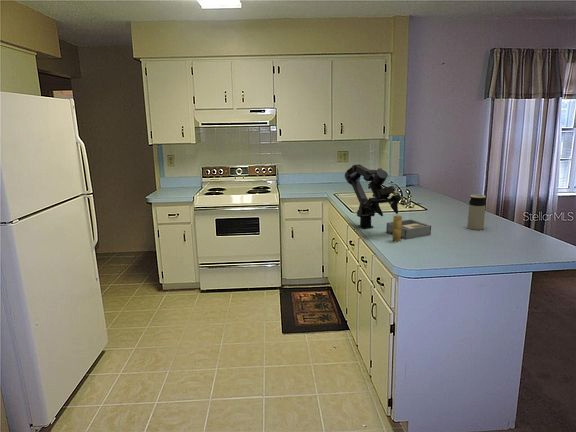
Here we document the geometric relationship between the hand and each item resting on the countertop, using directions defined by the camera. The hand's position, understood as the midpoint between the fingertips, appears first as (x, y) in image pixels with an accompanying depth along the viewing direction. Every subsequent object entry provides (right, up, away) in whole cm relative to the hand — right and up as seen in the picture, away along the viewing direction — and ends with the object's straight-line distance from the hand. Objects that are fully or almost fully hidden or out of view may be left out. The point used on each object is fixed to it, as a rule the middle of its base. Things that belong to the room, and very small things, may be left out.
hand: (390, 214), depth 206 cm
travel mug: (+50, -7, +16) cm, 53 cm away
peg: (+3, -13, -3) cm, 13 cm away
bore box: (+12, -10, +10) cm, 18 cm away
